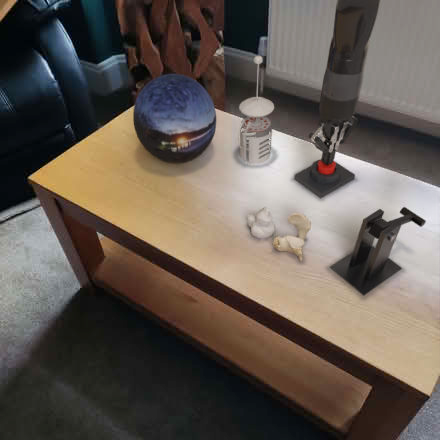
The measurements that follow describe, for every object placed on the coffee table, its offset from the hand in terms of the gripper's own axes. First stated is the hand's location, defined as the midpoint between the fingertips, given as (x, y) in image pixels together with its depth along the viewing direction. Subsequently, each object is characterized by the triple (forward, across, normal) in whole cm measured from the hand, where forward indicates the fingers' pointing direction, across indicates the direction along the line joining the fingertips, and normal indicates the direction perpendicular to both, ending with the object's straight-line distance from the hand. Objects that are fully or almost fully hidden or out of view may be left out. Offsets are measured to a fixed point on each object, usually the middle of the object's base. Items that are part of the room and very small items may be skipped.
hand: (327, 162), depth 99 cm
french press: (+6, -8, +18) cm, 20 cm away
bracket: (+6, -13, -25) cm, 29 cm away
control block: (+6, 0, 0) cm, 6 cm away
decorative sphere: (+6, -21, +31) cm, 38 cm away
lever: (-4, -9, -25) cm, 27 cm away
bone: (+6, -21, -13) cm, 25 cm away
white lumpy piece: (+6, -23, -4) cm, 24 cm away
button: (+2, 0, 0) cm, 2 cm away
